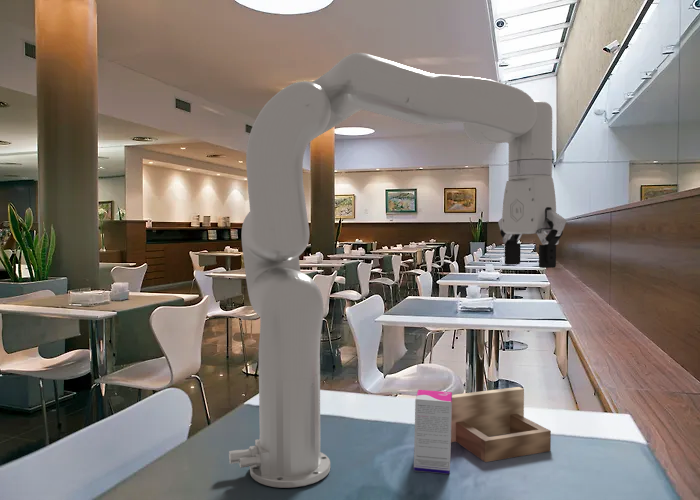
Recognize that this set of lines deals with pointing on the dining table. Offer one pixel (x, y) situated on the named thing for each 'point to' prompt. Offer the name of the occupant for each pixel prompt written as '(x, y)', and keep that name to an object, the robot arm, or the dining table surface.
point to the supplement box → (432, 431)
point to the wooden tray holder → (496, 425)
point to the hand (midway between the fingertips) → (529, 265)
